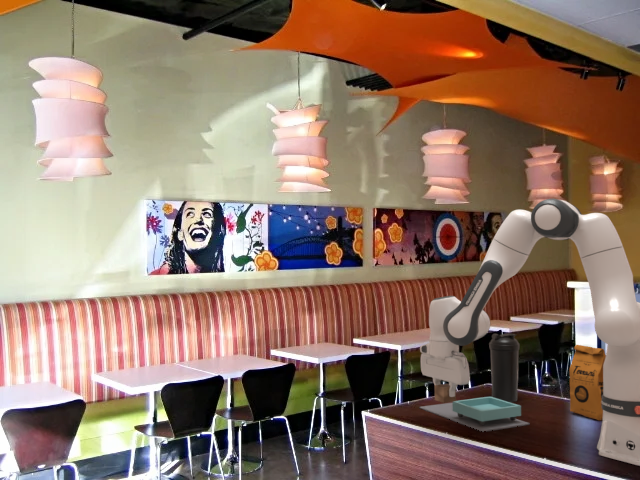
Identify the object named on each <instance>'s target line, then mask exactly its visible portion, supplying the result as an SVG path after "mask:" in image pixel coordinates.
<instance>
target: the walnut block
mask: <svg viewBox="0 0 640 480" xmlns="http://www.w3.org/2000/svg"><path fill="white" fill-rule="evenodd" d="M449 389H450V386H449V383H442V384H441V385H434V401H437V402H440V403H442V404H445V403H453V402H454V401H457V391H456V390H457V389H456V390H455V396H454V397H449V396H448V395H447V394H448V393H447V390H449Z"/></svg>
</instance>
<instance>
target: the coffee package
mask: <svg viewBox="0 0 640 480" xmlns="http://www.w3.org/2000/svg"><path fill="white" fill-rule="evenodd" d="M574 350H575V351H574V355H573V358H572V360H571V364H570V366H569V395H570V398H569V405H570V407H569V411H570V412H572V413H575V414H577V415H581V416H584V417H586V418H589V419H594V420H596V421H602V419H603V409H602V408H601V406H602V403H601V401H602V395H603V364H604V361H605V357H606V353H605V349H604V348H601V347H600V348H598V347H593V346H592V347H591V346H587V345H581V344H576V345H575V346H574Z"/></svg>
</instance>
